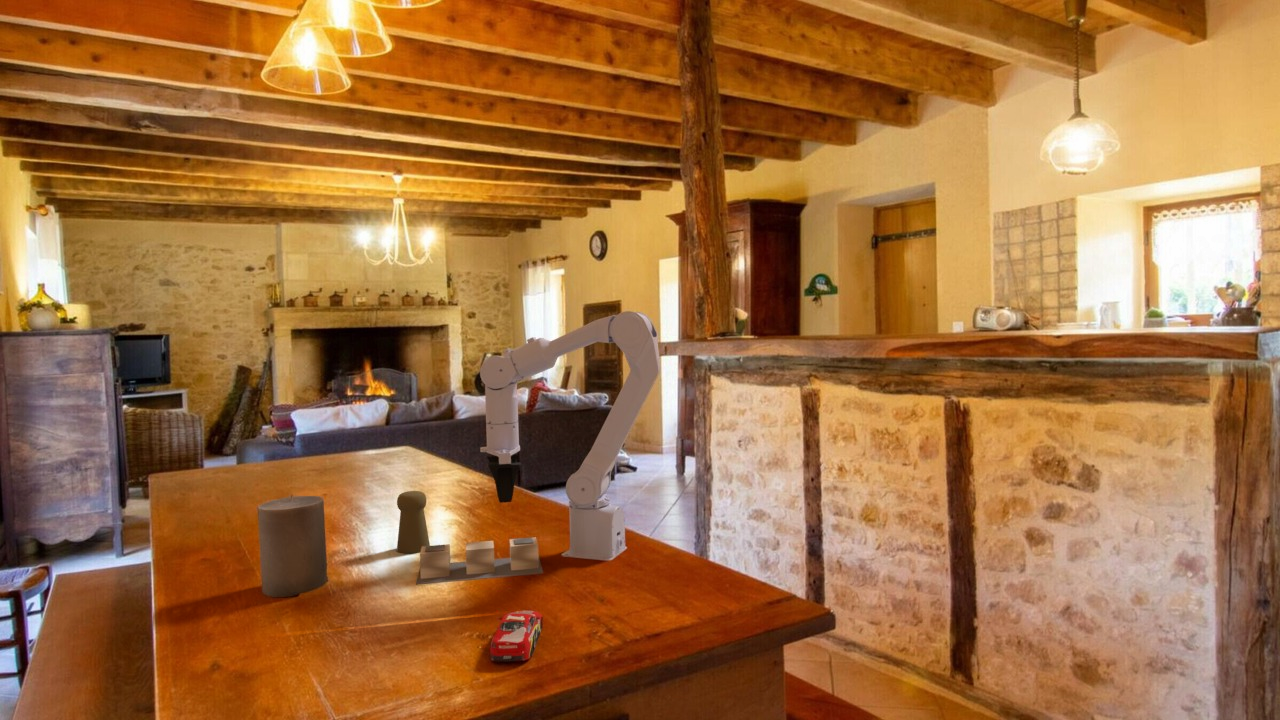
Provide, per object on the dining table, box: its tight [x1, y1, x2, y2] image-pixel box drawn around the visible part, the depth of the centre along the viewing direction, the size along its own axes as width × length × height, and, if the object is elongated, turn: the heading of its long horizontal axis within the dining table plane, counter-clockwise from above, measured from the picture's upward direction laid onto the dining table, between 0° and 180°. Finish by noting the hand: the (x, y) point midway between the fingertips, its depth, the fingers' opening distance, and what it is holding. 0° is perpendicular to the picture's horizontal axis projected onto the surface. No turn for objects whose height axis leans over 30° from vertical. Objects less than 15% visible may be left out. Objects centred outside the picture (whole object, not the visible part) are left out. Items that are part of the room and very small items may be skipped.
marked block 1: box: [419, 544, 451, 579], centre depth 125 cm, size 4×4×4 cm
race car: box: [489, 609, 543, 663], centre depth 97 cm, size 13×5×4 cm, turn 178°
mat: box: [415, 554, 544, 586], centre depth 126 cm, size 20×10×1 cm, turn 102°
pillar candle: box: [257, 493, 329, 598], centre depth 120 cm, size 10×10×15 cm
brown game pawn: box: [396, 490, 431, 555], centre depth 139 cm, size 6×6×11 cm
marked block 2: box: [509, 536, 539, 570], centre depth 128 cm, size 4×4×4 cm
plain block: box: [465, 540, 495, 574], centre depth 126 cm, size 4×4×4 cm
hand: (504, 497), depth 137 cm, fingers open, 7 cm apart
